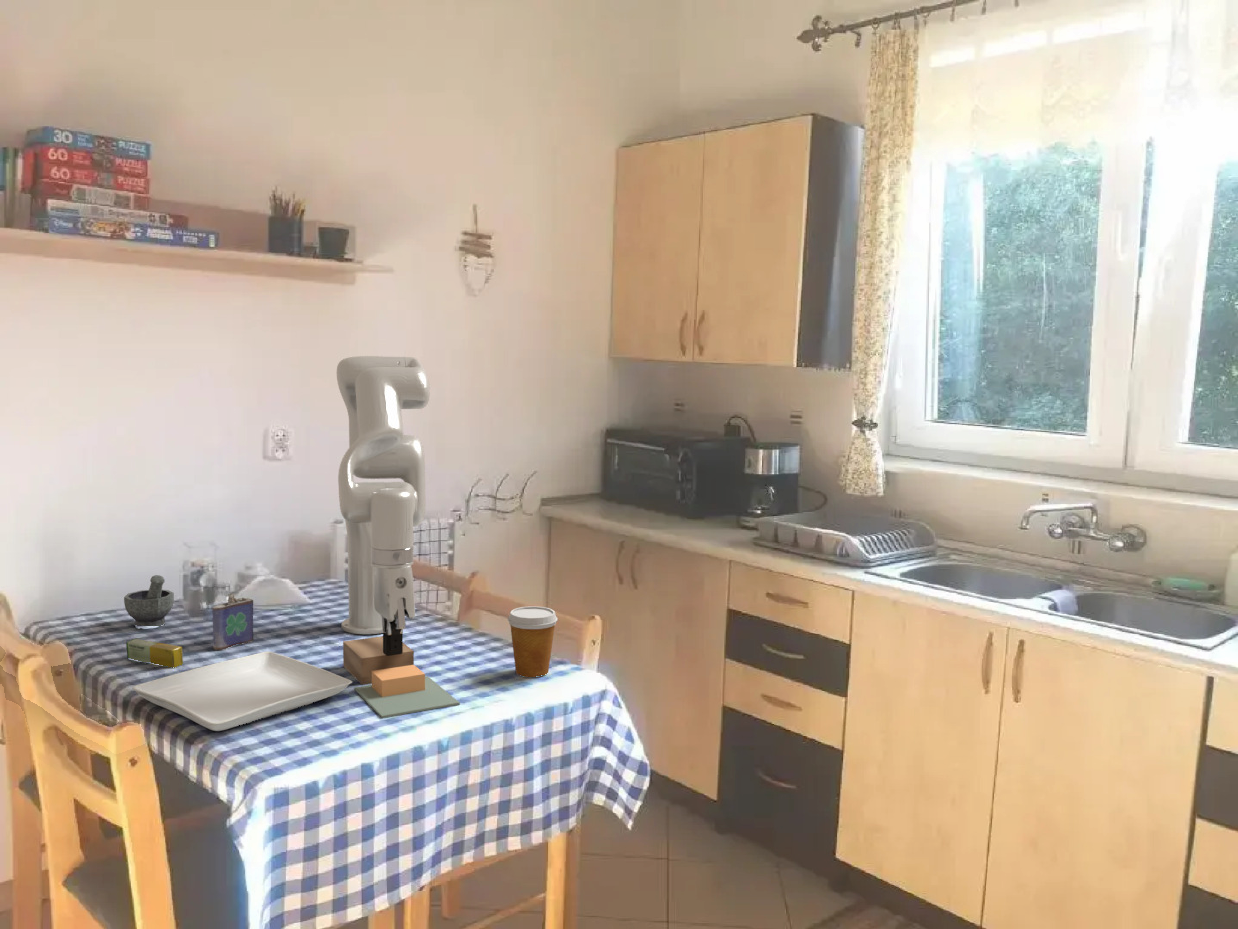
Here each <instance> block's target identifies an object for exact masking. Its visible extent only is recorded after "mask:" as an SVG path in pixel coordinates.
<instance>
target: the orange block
mask: <svg viewBox="0 0 1238 929" xmlns="http://www.w3.org/2000/svg"><path fill="white" fill-rule="evenodd" d="M425 676H426V673H424V672H423V671H422V670H421V669H419V668H418V667H417V666H416V665H415V664H414V665H408V666H402V667H395V668H388V669H382V670H375V671H372V683H371V685H372V688H373V689H374V690H375V691H376V692H378V693H379V694H380V695H381V696H382V697H385V696H391V695H397V694H403V693H410V692H416V691H422V690H425Z"/></svg>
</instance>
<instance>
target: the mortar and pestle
mask: <svg viewBox="0 0 1238 929" xmlns="http://www.w3.org/2000/svg"><path fill="white" fill-rule="evenodd" d="M164 583H165V578H164V577H163V576H162V575H159V574H154V575H152V576H151V577H150V585H149V588H148V589H143V590H139V591H138V590H137V591H134V592H130V593H127V594H126V595H125V596H124V597H123V602H124V607H125V612H126V613H127V614H128V615H129V617H131V618H132V619H133V620H134V624H135V625H137V626H161V625H163V624H164V623H165V622H166V618H165V617H166V616H168V615H169V613H170V612H171V610H172V608H173V605H174V598H175V593H174V592H173V591H172V590H171V591H170V590H168V589H163V585H164ZM166 623H167V622H166Z"/></svg>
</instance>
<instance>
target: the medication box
mask: <svg viewBox="0 0 1238 929" xmlns="http://www.w3.org/2000/svg"><path fill="white" fill-rule="evenodd" d="M125 644H126V645H125V647H126V659H127V658H131V659H134V660H138V661H142V662H151V663H154V664H159V665H163V666H168V667H167V668H169V667H172V668H171V669H175V667H176V668H178V667H177V666H179V665H181V666H183V665H184V660H183V659H184V658H183V657H184V656H183V646H180V645H174V644H170V643H169V644H168V643H165V642H163V643H162V642H158V641H152V640H145V639H141V638H132V639H130V640H127V641H126V643H125ZM182 664H183V665H182ZM163 666H162V667H163ZM173 667H174V668H173ZM179 667H180V666H179Z"/></svg>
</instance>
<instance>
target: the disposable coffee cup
mask: <svg viewBox="0 0 1238 929" xmlns="http://www.w3.org/2000/svg"><path fill="white" fill-rule="evenodd" d="M507 621H508V623H509V625H510V635H511V642H512V651H513V652H512V653H513V658H514V659H513V660H514V667H515V673H516V675H518V676H519V675H521V676H520V677H522V676H524V677H523V678H529V677H533V678H537V677H536V676H541V675H545V674H547V673H548V674H549V668H550V662H551V655H552V648H553V642H554V641H553V640H554V634H555V626H556V624H557V622H558V616H556V611H555V610H554V609H552V608H549V607H546V606H535V605H534V606H533V605H532V606H521V607H516V608H514V609H512V610H511V611H510V612H509V616H508V617H507ZM548 674H547V675H548ZM545 676H546V675H545ZM541 677H542V676H541Z"/></svg>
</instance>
